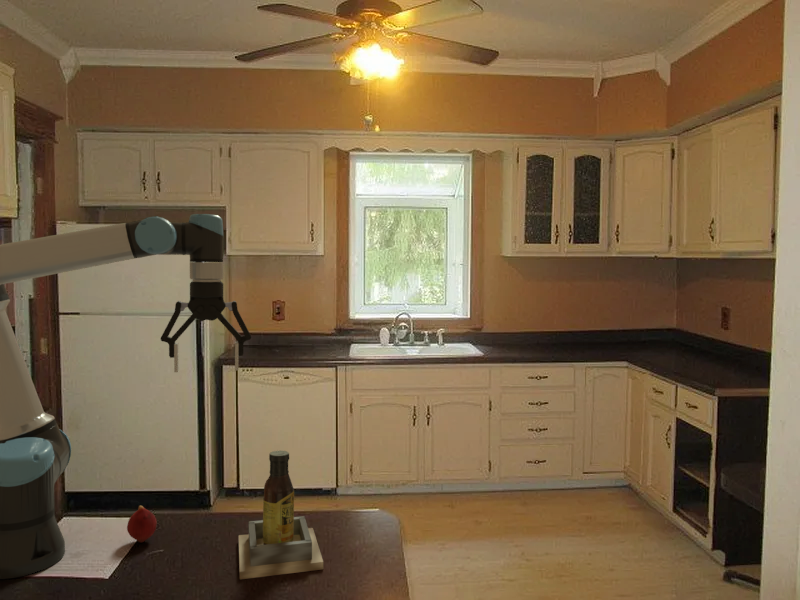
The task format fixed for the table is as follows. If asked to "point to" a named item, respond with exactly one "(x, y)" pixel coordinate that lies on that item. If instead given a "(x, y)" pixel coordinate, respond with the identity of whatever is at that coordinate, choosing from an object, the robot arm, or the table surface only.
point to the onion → (141, 524)
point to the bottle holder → (278, 552)
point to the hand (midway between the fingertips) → (207, 370)
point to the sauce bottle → (278, 501)
